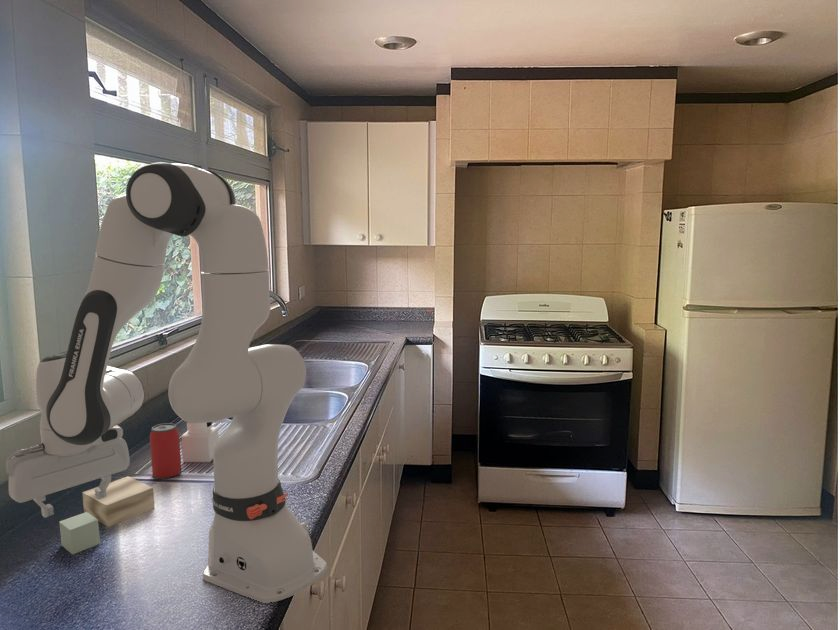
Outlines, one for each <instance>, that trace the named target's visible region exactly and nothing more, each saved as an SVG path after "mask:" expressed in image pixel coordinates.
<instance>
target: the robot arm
mask: <svg viewBox="0 0 840 630" xmlns="http://www.w3.org/2000/svg"><path fill="white" fill-rule="evenodd" d="M125 188H126V189H125V194H123V195H120V196H116V197H115V198H113V199H112V200H111V201H110V202H109V204H108V205H107V208H106V210H105V213H104V215H103V219H102V222H101V225H100V229H99V232H98V233H99V234H98V237H97V241H96V248H95V253H94V261H93V266H92V271H91V275H90V277H89V278H90V279H89V282H88V286H87V289H86V290H85V291H86V292H85V293H84V296H83V298H82V300H81V302H80V305H79V308H78V310H77V313H76V316H75V319H74V323H73V327H72V330H71V334H70V339H69V343H68V347H67V351H62V352H60V353H54V354H52V355H48V356H46V357H44V358H43V359H42V360H41V361H39V363H38V365H37V368H36V375H35V376H36V377H35V388H36V390H35V391H36V401H37V402H36V403H37V405H38V408H39V410H40V414H41V415H40V419H39V432H40V444H36V445H32V446H30V447H26V448H21V449H17V450H15V451H14V452H13V453H12V454H10V455H9V456H8V457H7V458H6V460H5V471H6V474H7V475H8V486H7V487H8V495H9V496H10V498H11V499H12V500H13V501H15V502H17V503H19V504H21V503H25V502H28V501H31V500H33V501H34V503H36V504H37V505H38V506H39V507H40V509H41V510H40V511H41V515H42V517H43V518H45V519H46V518H48V517H51V516H53V515H54V514H55V512H54V506H53V505H52V504H51V503H47V504H45V503H44V502H45V501H46V496H47V495H51V494H53V493H56V492H59V491H63V490H66V489H67V490H68V489H69V488H73V487H76V486H79V485H82V484H86V483H88V482H92V481H95V480H98V479H101V481H100V483H99V485H98V487H99V488H96V487H95V488H96V489H95V497H96V498H98V500H99V499H102V498H105V497H106V496H107V494H106V489H107V487H108V485H109V483H110V482H112V475H114V474H117V473H120V472H124V471H126V470H127V469H128V467H129V466H130V464H131V462H130V461H131V459H130V453H129V447H128V444H127V442H126V440H125V439H124V438H123V437H124V436H123V435H124V430H123V428H122V426H121V427H120V425H119V424H120V423H122V422H123V421H125V420H126V419H128V418H129V417H131V416H133V415H134V414H135V413H136V412H138V411H139V410H140V409H141V407H142V406H143V405H144V401H145V398H146V397H145V396H146V395H145V387H144V385H143V382H142V381H141V379H140V378H139V376H137V374H135V373H134V372H132V371H131V370H129V369H127V368H117V367H114V366H110V365H108V364H109V360H110V356H111V354H112V353H111V352H112V348H113V345H114V342H115V340H116V337H117V336H118V335H119V333H120V332H121V330H122V329H123V327H124V326H125V325H127V324H128V322H129V321H131V320H132V319H133V318H134V317H135V316H136V315H137V314H138V313H140V312H142V310H144V309H145V308H147V307H148V306H149V305H150V304H151V303H152V302H154V300H155V299H156V297H157V295H158V291H159V290H160V287H161V284H162V280H163V276H164V270H165V264H166V256H167V249H168V244H169V241H170V239H171V238H172V237H173V236H174V235H175V236H178V237H182V238H184V237H185V238H186V237H188V236H191V237H192V238H193V239H194V240H195V242H196V244H197V246H198V249H199V254H200V255H199V257H200V272H201V274H200V275H201V291H202V292H201V294H202V314H201V315H202V316H201V322H200V326H199V331H198V335H197V337H196V339H195V340H196V341H195V342H194V345H193V346H192V347H191V351H190V352H189V354H188V355H187V357H186V358H185V359H184V361H183V362H182V363H181V364H180V365H179V366H178V367H177V368H176V369H175V371H174V372H173V373H172V375H171V377H170V380H169V383H168V389H167V393H168V401H169V403H170V406H171V408H172V410H173V411H174V413H175V414H176V416H178V417H179V418H180V419H182V420H183V421H184V422H185V423H187V422H188V423H207V422H212V423H216V422H220V421H223V420H227V419H229V418H232V420H231V421H230V424H229V425H228V427H227V428H226V429H225V431H224V432H223V433H222V434H221V435H220V436H219V439H218V440H217V441H216V443H215V446H214V449H213V459H212V460H213V461H212V463H213V479H214V483H213V484H214V486H213V488H212V495H211V502H212V508H213V511H214V512H215V513H214V517H213V520H212V523H211V525H210V528H209V531H208V534H209V535H208V551H207V553H208V555H207V557H208V558H207V566H206V567H205V569H204V570H203V572H202V579H203V580H204V582H205V581H206V582H208V583H210V584H213V585H215V586H218V587H221V588H223V589H225V590H228V591H231V592H233V593H236V594H238V595H241V596H243V597H245V596H246V598H248V597H249V599H250V598H251V600H253V599H254V600H253V601H255V600H257V601H256V602H258V601H260V602H259V603H261V602H262V603H261V604H265V603H266V604H271V603H270V602H272V603H276V602H279V601H283V600H285V599H287V598H290V597H292V596H294V595H297V594H299V593H300V592H302V591H304V590H306V589H307V588H308V587H310V586H311V585H313V584H314V583H316V582H317V581H319V580H320V579H321V578H322V577H323V576H324V575H325V573H326V572H327V570H328V564H327V563H328V562H327V561H326V560H324V559H323V558H322V557H321V556H320V555H319V554H317V553H316V552H315V551H314V549H313V543H312V539H311V537H310V535H309V526H308V525H307V523H306V522H305V521H303V522H300V521H299V520H298V519H297V517H296V516H295V515H294V514H293V512H292V510H291V509H290V508H289V507H288V506H287V504H286V503H287V502H286V501H287V500H289V498H287V496H288V495H289V494H288V493H284V488H283V486H282V484H281V480H280V479H279V468H278V467H279V464H278V463H279V460H278V459H279V457H278V456H279V455H278V454H279V453H278V451H279V449H278V447H279V439H280V435H281V434H280V433H281V430H282V426H283V423H284V419H285V417H286V415H287V412H288V409H289V407H290V405H291V403H292V402H293V400H294V399H295V398H296V396H297V395H298V393H299V392H300V391H301V389H302V388H303V387H304V385H305V382H306V376H307V368H306V363H305V360H304V359H303V357H302V355H301V353H300V352H299V351H298V350H297V349H296V348H295V347H293V346H292V345H289V344H288V345H287V344H277V343H276V344H275V343H273V344H272V343H269V344H268V343H267V344H261V345H255V346H252V347H250V345H251V342H252V339H253V337H254V335H255V333H256V332H257V331H258V329H260V327H261V326H262V325H264V324H265V323H266V321H267V320H268V318H269V316H270V313H271V295H270V293H271V292H270V275H269V273H270V271H269V259H268V250H267V245H266V239H265V232H264V229H263V226H262V221H261V219H260V217H259V215H258V213H256V212H255V211H254V210H252V209H250V208H249V207H246V206H243V205H240V204H236V203H237V202H236V195H235V192H234V190H233V187H232V186H231V184H230V183H229V182H228V181H227V180H226V179H225V178H224V177H223V176H222V175H220V174H218V173H217V172H214V171H212V170H208V169H202V168H200V167H196V166H194V165H191V164H185V163H170V162H166V161H165V162H163V161H162V162H161V161H160V162H153V163H149V164H146V165H143V166H141V167H140V168H138V169H137V170H135V172H133V173H132V174H131V176H130V177H129V179H128V182H127V185H126V187H125Z"/></svg>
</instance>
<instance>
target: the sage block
mask: <svg viewBox="0 0 840 630" xmlns="http://www.w3.org/2000/svg"><path fill="white" fill-rule="evenodd" d="M58 523H59V532H60V540H61V541H60V542H61V546H62V547H63V548H64V549H65V550H66V551H68V552H69V553H70V554H71V555H75V554H77V553H78V554H79V553H80V552H82V551H86V550H89V549H90V548H93V547H95V546H98V545H101V538H100V527H99V522H98V519H96V518H95V517H93V516H92V515H91V514H89V513H88V512H85V513H84V512H83V513H80V514H76V515H74V516H71V517H68V518H66V519H62V520H60V521H58Z"/></svg>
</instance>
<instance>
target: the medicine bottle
mask: <svg viewBox="0 0 840 630" xmlns="http://www.w3.org/2000/svg"><path fill="white" fill-rule="evenodd" d="M186 429H187V431H186V432H184V433H183V434H182V435H181V436H180V438H181V439H180V440H181V442H180V443H181V454H182V455H181V456H182V457H181V458H182V462H183V463H211V461H212V460H213V449H214V446H215V443H216V441H217V440H218V439H219V437H220V436H219V435H220V434H219V427H218V426H213V422H207V423H188V422H186Z"/></svg>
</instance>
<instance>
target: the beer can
mask: <svg viewBox="0 0 840 630" xmlns="http://www.w3.org/2000/svg"><path fill="white" fill-rule="evenodd" d="M150 428H151V432H150V433H149V447H150V457H151V458H150V459H151V473H152V476H153V477H154V478H156V479H160V480H161V479H162V478H164V479H169V478H170V477H171V478H174V477H176V476H178V475H179V474H180V473H181V471H182V457H181V456H182V455H181V442H180V433H179V430H178V428H177V424H175V423H172V422H170V423H169V422H165V423H159V424H155V425H154V426H152V427H150ZM173 476H174V477H173Z"/></svg>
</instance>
